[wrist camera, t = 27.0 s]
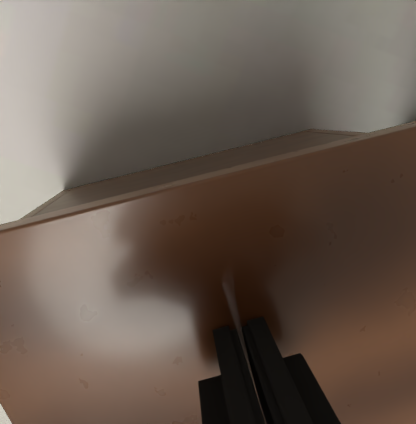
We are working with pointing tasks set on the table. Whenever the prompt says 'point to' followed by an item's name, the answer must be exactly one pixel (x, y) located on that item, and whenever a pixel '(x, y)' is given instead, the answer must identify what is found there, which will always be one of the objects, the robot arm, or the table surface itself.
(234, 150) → the chest
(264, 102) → the table surface
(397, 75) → the table surface
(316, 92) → the table surface
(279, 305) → the lid
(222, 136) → the table surface
